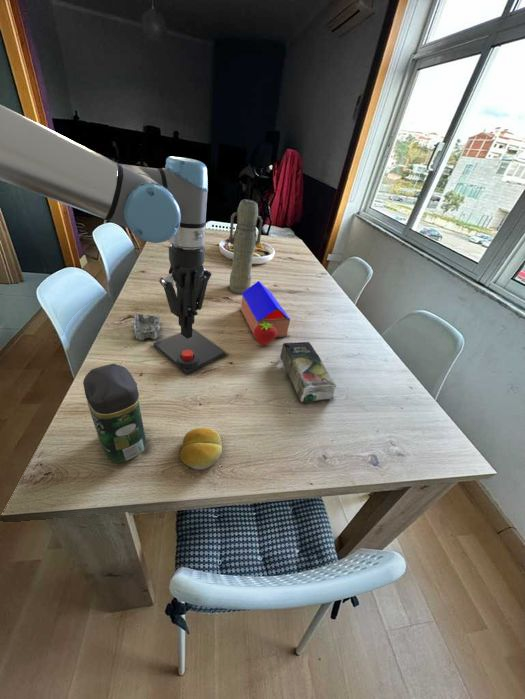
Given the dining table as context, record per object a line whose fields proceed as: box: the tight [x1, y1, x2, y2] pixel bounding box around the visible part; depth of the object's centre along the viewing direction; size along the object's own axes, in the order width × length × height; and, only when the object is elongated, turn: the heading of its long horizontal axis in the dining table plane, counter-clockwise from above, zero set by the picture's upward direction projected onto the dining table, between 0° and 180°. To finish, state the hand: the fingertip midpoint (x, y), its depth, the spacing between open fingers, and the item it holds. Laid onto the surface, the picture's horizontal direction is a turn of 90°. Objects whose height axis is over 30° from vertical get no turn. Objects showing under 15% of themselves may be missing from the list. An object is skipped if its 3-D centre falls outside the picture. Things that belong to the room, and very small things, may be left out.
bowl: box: [218, 234, 276, 265], centre depth 159 cm, size 30×30×8 cm
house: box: [240, 280, 291, 338], centre depth 104 cm, size 12×20×12 cm, turn 18°
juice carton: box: [279, 341, 337, 403], centre depth 84 cm, size 20×10×6 cm, turn 15°
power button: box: [182, 350, 193, 361], centre depth 80 cm, size 3×3×2 cm
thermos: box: [229, 198, 264, 295], centre depth 116 cm, size 9×12×35 cm
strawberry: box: [253, 321, 277, 347], centre depth 92 cm, size 6×8×10 cm
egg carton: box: [133, 312, 161, 341], centre depth 91 cm, size 11×8×4 cm
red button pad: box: [153, 327, 226, 375], centre depth 87 cm, size 16×14×3 cm
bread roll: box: [179, 427, 223, 470], centre depth 60 cm, size 8×9×4 cm
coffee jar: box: [82, 363, 147, 464], centre depth 55 cm, size 10×8×19 cm
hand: (186, 335), depth 76 cm, fingers closed
